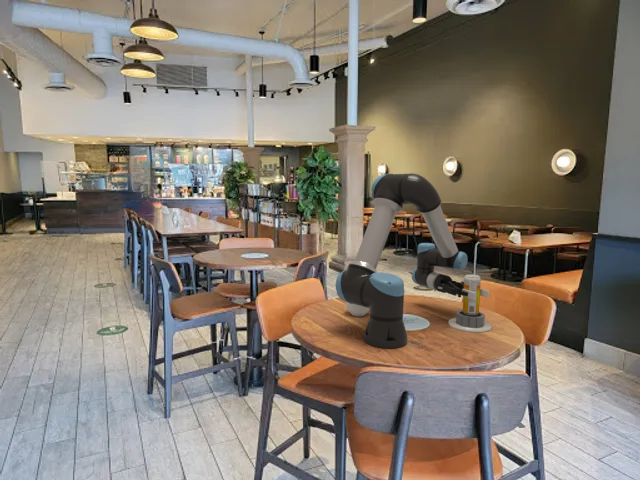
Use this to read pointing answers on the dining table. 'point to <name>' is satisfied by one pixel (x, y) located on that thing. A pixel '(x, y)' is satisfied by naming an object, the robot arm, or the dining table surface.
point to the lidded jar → (357, 309)
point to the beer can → (472, 285)
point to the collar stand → (470, 322)
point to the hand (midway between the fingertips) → (481, 295)
